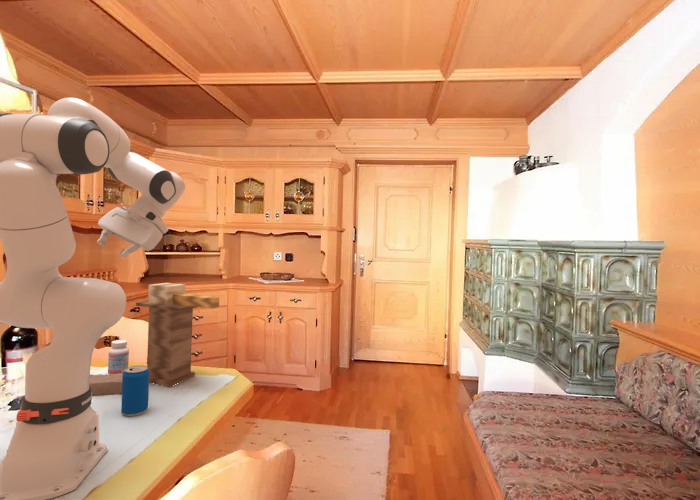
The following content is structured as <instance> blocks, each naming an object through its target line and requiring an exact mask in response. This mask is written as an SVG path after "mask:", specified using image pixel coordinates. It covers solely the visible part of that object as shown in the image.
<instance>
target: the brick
mask: <svg viewBox="0 0 700 500" xmlns="http://www.w3.org/2000/svg"><path fill="white" fill-rule="evenodd" d="M122 375H123V373H119V374H109V375H108V374H102V373H101V374H99V373H98V374H91V373H90V379H89V386H90V387H91V392H92V397H98V396H99V397H100V396H110V395H112V396H113V395H120V394H121V395H122Z"/></svg>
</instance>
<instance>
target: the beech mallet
mask: <svg viewBox="0 0 700 500" xmlns="http://www.w3.org/2000/svg"><path fill="white" fill-rule="evenodd" d="M147 298H148V299H147V301H148V303H154V304H163V305H170V304H177V305H186V306H194V307H197V308H203V309H204V308H205V309H210V310H211V309H217V308H219V307H220V297H219V296H210V295H209V296H208V295H199V294H191V293H190V294H189V293H186V284H185V283H172V282H164V283H163V282H162V283H154V284H148V295H147Z"/></svg>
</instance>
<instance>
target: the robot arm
mask: <svg viewBox="0 0 700 500" xmlns="http://www.w3.org/2000/svg"><path fill="white" fill-rule="evenodd" d="M103 168H106V169H107V171H108V173H109V175H110V176H111V177H112V179H114V180H116V181H118V182H120V183H121V184H125V185H126V186H128V187H130V188H132V189H134V190H136V191H137V192H139V193H141V194H142V195H141V196H139V197H138V198H137V199H136V200H135V201H134V202H132V204H131V205H130V206H129V207H126V206H124V205H120V206H117V207H115V208H113V209H111V210H109V211H108V212H107V213H106V214H105V215H103V216H102V217H101V218H100V219H99V220H97V221H98V222H97V225H98V227H100V228H101V229H102V231H101V234H100V237H99V238H98V239H97V241H96V243H97V244H98V245H100V246H102V247H104V246H105V245H107V244H108V241H107V239H108V238H109V237H111V236H115V237H117V238H120V239H121V240H123V241H125V242H127V243H130V244H129V245H130V246H128V247H127V248H122V249H121V250H120V251H119V253H118V254H119V255H120V256H121V257H123V258H127V257H128V256H129V255H130V254H132V253H134V252H136V251H138V250H139V249H142V250H143V251H146V252H149V251H152V250H153V249H155V247H156V246H157V245H159V242H161V240H162V238H163V237H164V235H165V234H166V233H167V232H169V228H168V226H167V225H166V224H165V222H164V221H163V220H162V218H163V217H164V216H165V214H166V212H167V211H168V210H170V209H171V208H173V207H174V206H175V204H176V203H177V202H178V201H179V200H180V198H181V196H182V195H183V193H184V192H185V190H186V183H185V181H184V180H183V178H182V176H180V175H179V174H178V173H177V172H174V171H169V170H168V169H166V168H164V167H163V166H161V165H159V164H157V163H155V162H153V161H151V160H149V159H147V158H145V156H143V155H142V156H141V155H140V154H139V153H137V152H135V151H134V150H132V149H131V140H130V137H128V135H127V133H126V131H124V129H123V128H122V127H121V126H120V125H119V124H118V123H117V122H116V121H115V120H113V119H112V118H111V117H109V115H108V114H105V112H104V111H102V110H101V109H99V108H97V107H95V106H94V105H92V104H91V103H88V102H87V101H84V100H83V99H80V98H77V97H63V98H60V99H58V100H56V101H55V102H54V103H52V104H51V106H50V107H49V109H48V111H47V113H46V114H43V113H11V112H3V113H1V112H0V243H1V246H2V249H3V252H4V255H5V259H6V273H5V277H4V278H3V279H2V280H1V281H0V323H1V324H5V325H8V326H13V327H17V328H22V329H50V330H51V329H52V330H53V336H52V339H51V341H50V343H49V344H48V345H46V346H44V347H42V348H40V349H38V350H36V351H35V352H34V353H33V354H32V355H30V356H29V358H28V359H27V361H26V364H25V377H24V382H25V383H24V396H23V397H22V399H21V404H20V407H19V410H18V411H17V413H16V418H15V419H16V423H15V425H16V426H15V428H14V430H13V434H12V437H11V439H10V442H9V445H8V447H7V449H6V454H5V457H4V458H2V459H1V461H0V500H49V499H53V498H57V497H59V496H62V495H65V494H67V493H70V492H72V491H74V490H76V489H77V488H78V486H79V485H80V484H81V483H82V482H83V481H84V480H85V478H86V477H87V476H88V475H89V474H90V472H92V470H93V469H94V467H96V465H97V464H98V463H99V461H100V460H101V459H102V458H103V457H104V455H105V454H106V453H107V452H108V451H109V450H108V445H107V443H106V444H105V443H101V442H100V414H99V413H97V411H95V410H94V409H93V408H92V407H91V404H92V398H93V396H92V392H91V387H90V386H89V379H90V374H91V364H92V358H93V352H94V350H95V348H96V345H97V343H98V342H99V340H100V339H101V337H102V336H103V334H104V333H106V332H107V331H108V330H110V328H112V327H113V326H115V325H116V324H117V323H118V322H119V321H120V320H121V319H122V318H123V316H124V314H125V312H126V308H127V296H126V293H125V290H124V289H123V288H122V286H121V285H119V283H117V282H113V281H109V280H105V279H100V278H95V277H73V276H71V277H70V276H69V277H68V276H63V275H62V274H61V273H60V271H59V267H60V266H62V265H64V264H66V263H67V262H69V260H71V258H72V257H73V256H74V254H75V251H76V248H77V242H76V239H75V234H74V232H73V229H72V225H71V222H70V217H69V215H68V212H67V208H66V204H65V203H64V200H63V197H62V194H61V192H60V190H59V188H58V185H57V177H58V175H59V174H61V175H68V174H69V175H70V174H76V175H81V176H83V175H91V174H95V173H99V172H100V171H101V170H102V169H103Z"/></svg>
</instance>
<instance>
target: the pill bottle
mask: <svg viewBox="0 0 700 500" xmlns="http://www.w3.org/2000/svg"><path fill="white" fill-rule="evenodd" d="M110 345H111V348H110V349H109V350H108V359H107V361H108V362H107V364H108V365H107V375H109V374H119V373H124V370H125V369H126V368H127V367H129V356H130V348H129V347H127V345H128V341H127V340H125V339H116V340H113V341H111V344H110Z"/></svg>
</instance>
